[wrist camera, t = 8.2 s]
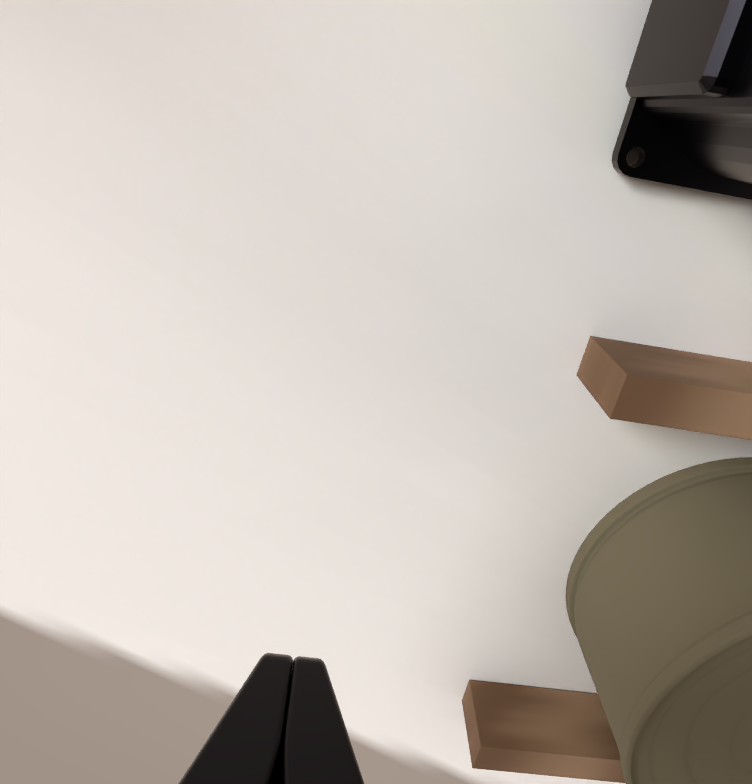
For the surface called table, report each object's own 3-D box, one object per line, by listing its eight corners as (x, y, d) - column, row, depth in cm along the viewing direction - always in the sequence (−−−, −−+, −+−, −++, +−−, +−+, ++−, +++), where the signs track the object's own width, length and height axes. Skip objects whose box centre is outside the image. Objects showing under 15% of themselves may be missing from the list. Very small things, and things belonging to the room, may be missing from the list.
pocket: (1018, 405, 20) (1159, 471, 16) (777, 734, 28) (838, 827, 24) (590, 336, 19) (642, 390, 15) (462, 700, 26) (476, 794, 23)
